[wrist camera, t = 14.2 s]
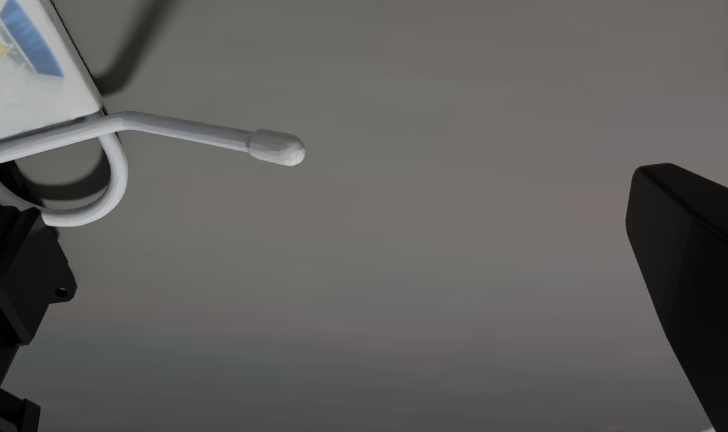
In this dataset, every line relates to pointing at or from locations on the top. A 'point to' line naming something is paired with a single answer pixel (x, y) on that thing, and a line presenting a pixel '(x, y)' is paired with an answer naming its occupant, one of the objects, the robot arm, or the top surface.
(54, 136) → the wall mount rack
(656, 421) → the top surface
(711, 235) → the robot arm
